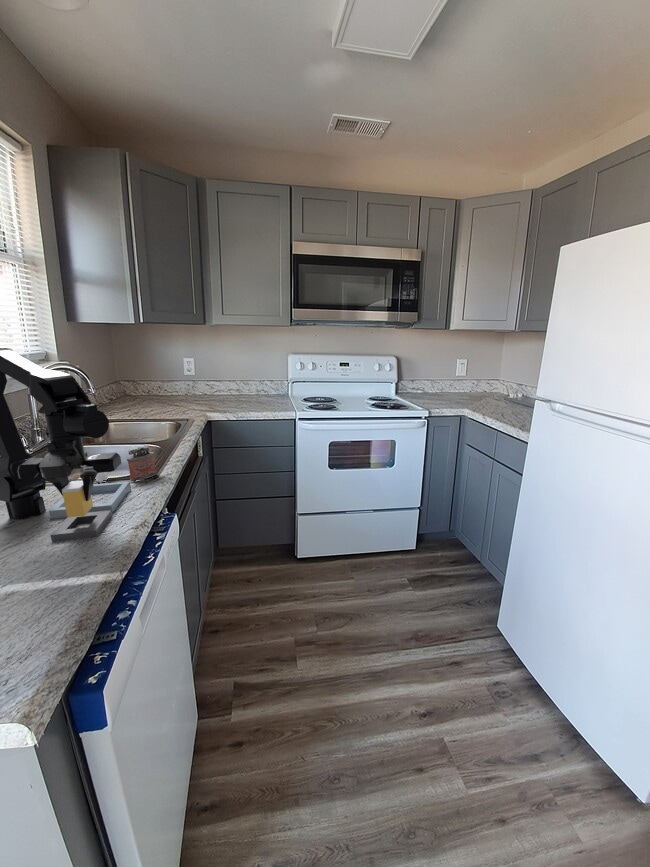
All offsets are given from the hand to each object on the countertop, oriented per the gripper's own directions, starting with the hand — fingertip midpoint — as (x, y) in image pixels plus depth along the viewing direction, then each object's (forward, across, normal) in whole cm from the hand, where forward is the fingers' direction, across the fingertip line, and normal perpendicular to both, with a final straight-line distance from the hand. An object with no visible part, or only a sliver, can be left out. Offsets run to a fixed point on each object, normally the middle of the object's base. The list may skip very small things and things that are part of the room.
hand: (78, 501), depth 89 cm
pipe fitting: (+8, -7, +33) cm, 35 cm away
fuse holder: (+8, 0, 0) cm, 8 cm away
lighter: (+8, +5, +33) cm, 34 cm away
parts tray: (+8, -3, +15) cm, 17 cm away
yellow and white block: (+2, 0, 0) cm, 2 cm away
